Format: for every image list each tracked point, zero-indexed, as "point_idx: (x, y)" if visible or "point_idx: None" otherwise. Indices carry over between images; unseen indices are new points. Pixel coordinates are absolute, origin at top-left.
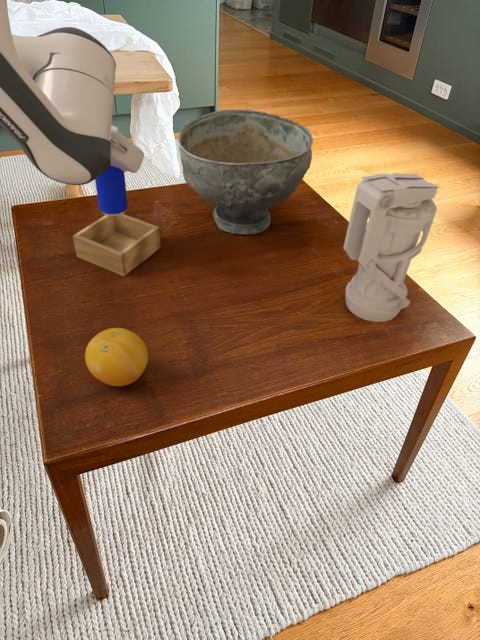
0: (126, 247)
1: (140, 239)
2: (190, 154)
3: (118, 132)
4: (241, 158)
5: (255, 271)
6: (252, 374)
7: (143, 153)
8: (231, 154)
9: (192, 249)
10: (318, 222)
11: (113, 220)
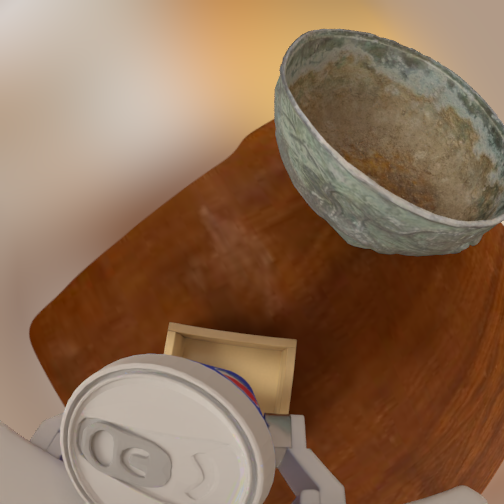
0: None
1: (286, 400)
2: (410, 207)
3: (261, 439)
4: (335, 102)
5: (441, 323)
6: (480, 473)
7: (485, 501)
8: (320, 99)
9: (342, 321)
10: None
11: (179, 336)
